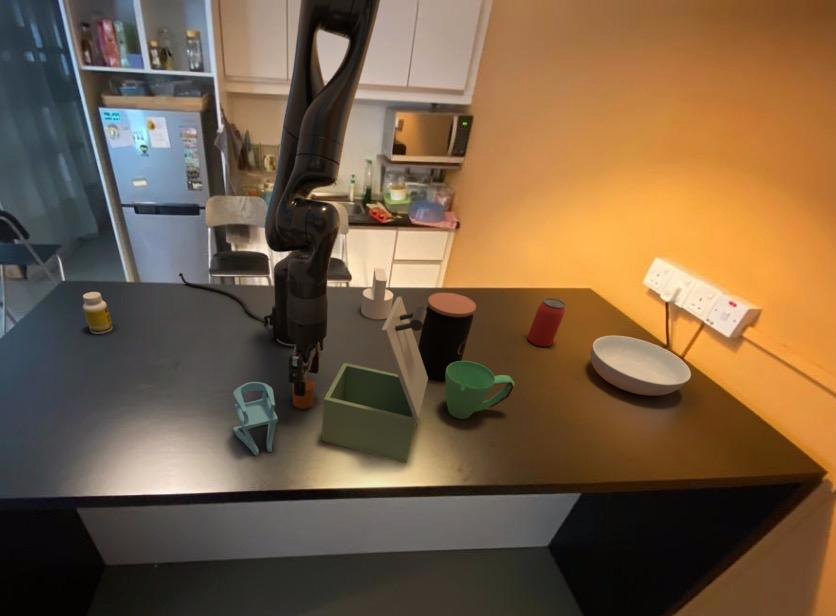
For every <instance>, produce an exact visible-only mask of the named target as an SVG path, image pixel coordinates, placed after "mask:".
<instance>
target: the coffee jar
mask: <svg viewBox="0 0 836 616" xmlns="http://www.w3.org/2000/svg"><path fill="white" fill-rule="evenodd" d="M425 309H426V311H427V314H426V317H425V320H424V323H423V327H422V329H421V330H420V331H421V332H420V337H419V342H418V345H417V346H418V349H419V352H420V355H421V358H422V361H423V364H424V367H425V370H426V373H427V376H428V379H433V380H437V381H438V380H439V381H445V372H446V369H447V366H448V365H450V364H451V363H453V362H457V361H463V356H464V353H465V348H466V345H467V342H468V339H469V334H470V331H471V327H472V324H473V320H474V314H475V312H476V309H477V304H476V303H475V302H474V301H473V300H472V299H471V298H469V297H467V296H465V295H461V294H458V293H453V292H437V293H433V294H431V295H429V297H428V299H427V306H426V308H425Z"/></svg>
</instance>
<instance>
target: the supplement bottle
mask: <svg viewBox="0 0 836 616" xmlns="http://www.w3.org/2000/svg"><path fill="white" fill-rule="evenodd" d="M82 298H83V302H84V303H83V304H82V309H83V312H84V315H85V319H86V322H87V325H88V329H89V331H90V333H92V334H94V335H102V334H103V335H104V334H107V333H110V332H111V331H112V330H113V329H114V327H113V322H112V319H111V315H110V312H109V307H108V304H107V303H106V301H104V300H103V297H102V295H101V293H100V292H98V291H90V292H86V293H84V294H83V295H82Z"/></svg>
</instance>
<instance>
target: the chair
mask: <svg viewBox="0 0 836 616" xmlns="http://www.w3.org/2000/svg"><path fill="white" fill-rule="evenodd" d="M256 391H257V392H260V391H261V392H262V395H261V398H260V399H256V400H252V401H248V402H245V401H244V397H243V395H245V394H247V393H251V392H256ZM233 396H234V398H235V400H236V403H235V404H234V410H235V412H236V414H237V418H238V420H239V423H240V425H238V426H237V425H236V426H234V427H233V433H234V435H235V436H236V437H237V438H238V439H239V440H240V441H241V442H242V443H243V444H244V445H245V446H246V447H247V448H248V449H249V450H250V451H251V452H252V454H253V455H254V456H255V457H257V456H259V455H260V450H259V447H258V445H257V444H256V441H255V440H254V438H253V436H252V434H251V433H250V431H249V430H250V429H254V428H258V427H263V426H266V425H267V426H268V427H267V434H266V440H265V441H266V442H265V443H266V451H267V452H268V453H272V452H273V441H274V435H275V429H276V425H277V423H278V422H279V418H278V415H277V413H276V412H275V407H276V401H275V396H274V390H273V387H272V386H271V385H269V384H267V383H265V382H259V381H250V382H247V383H244V384H242V385H240V386H238V387H237V388H235V390H233ZM267 396H268V397H267ZM242 431H243V432H242Z"/></svg>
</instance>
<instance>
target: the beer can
mask: <svg viewBox="0 0 836 616" xmlns="http://www.w3.org/2000/svg"><path fill="white" fill-rule="evenodd" d="M565 313H566V303H565V302H564V301H562V300H561V299H558V298H553V297H547V298H544V299H543V300H542V301H541V303H540V304H539V306H538V307H537V310H536V313H535V315H534V318H533V321H532V324H531V326H530V329H529V332H528V335H527V340H528V341H529V342H530V343H531V344H533V345H534V346H536V347H537V346H538V347H542V348H543V347H545V348H546V347H550V346H552V344H553V343H554V340H555V337H556V335H557V332H558V331H559V328H560V326H561V323H562V321H563V318H564V316H565Z"/></svg>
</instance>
